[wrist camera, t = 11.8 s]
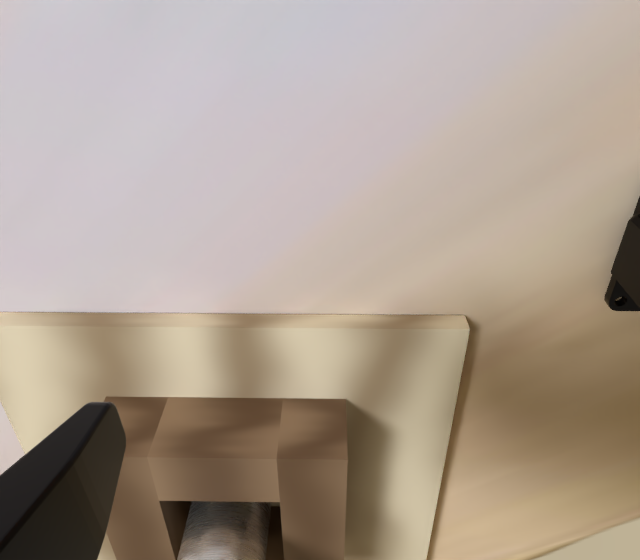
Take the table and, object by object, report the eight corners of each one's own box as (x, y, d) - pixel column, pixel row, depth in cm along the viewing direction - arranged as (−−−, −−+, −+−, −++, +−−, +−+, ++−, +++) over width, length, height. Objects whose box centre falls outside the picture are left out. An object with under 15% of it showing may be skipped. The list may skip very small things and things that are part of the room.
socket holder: (465, 315, 24) (490, 387, 20) (420, 561, 35) (431, 638, 31) (-23, 311, 24) (-88, 381, 20) (85, 556, 35) (55, 631, 31)
